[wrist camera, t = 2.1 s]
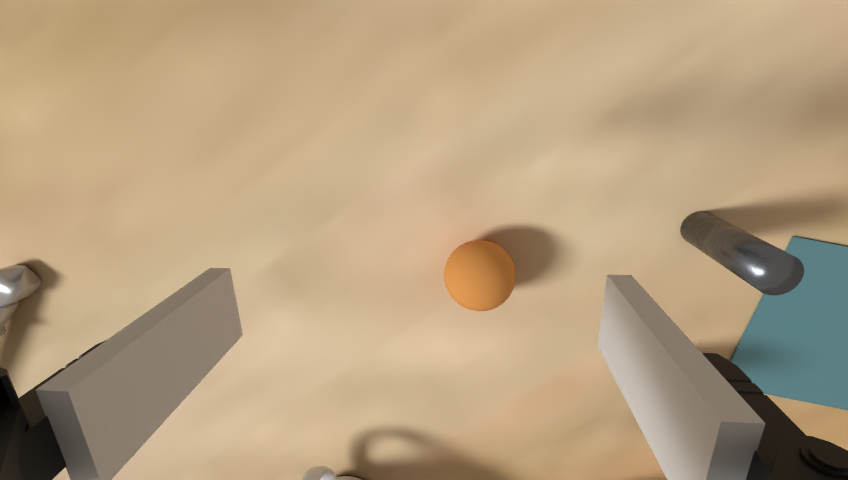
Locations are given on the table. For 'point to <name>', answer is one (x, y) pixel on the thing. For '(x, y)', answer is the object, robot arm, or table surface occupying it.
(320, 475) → the mug
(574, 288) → the table surface
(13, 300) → the hammer
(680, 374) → the robot arm
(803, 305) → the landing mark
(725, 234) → the post
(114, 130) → the table surface
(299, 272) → the table surface
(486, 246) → the ball
